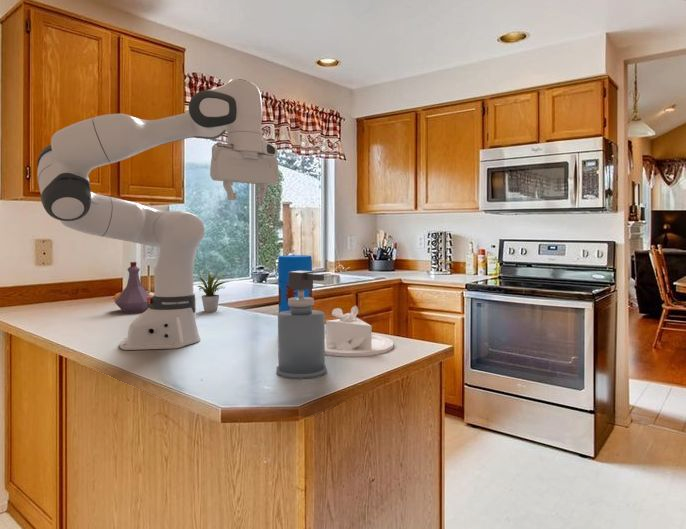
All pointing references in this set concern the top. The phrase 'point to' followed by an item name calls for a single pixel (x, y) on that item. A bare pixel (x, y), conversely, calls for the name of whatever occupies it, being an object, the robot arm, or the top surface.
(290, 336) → the dispenser
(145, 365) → the top surface
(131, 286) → the flask
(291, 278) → the pump head
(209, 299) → the house plant
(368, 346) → the dish
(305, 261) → the thermos
